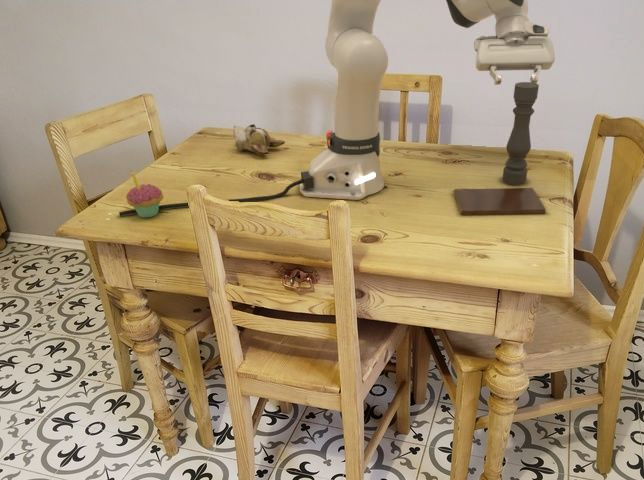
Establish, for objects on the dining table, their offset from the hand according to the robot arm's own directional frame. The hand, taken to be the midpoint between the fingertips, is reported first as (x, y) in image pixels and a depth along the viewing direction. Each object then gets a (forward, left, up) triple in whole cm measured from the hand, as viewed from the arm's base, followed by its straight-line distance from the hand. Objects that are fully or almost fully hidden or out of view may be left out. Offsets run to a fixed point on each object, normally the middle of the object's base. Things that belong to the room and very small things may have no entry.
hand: (516, 83), depth 158 cm
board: (-7, -25, -23) cm, 34 cm away
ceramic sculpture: (-73, +16, -23) cm, 78 cm away
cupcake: (-94, -27, -23) cm, 100 cm away
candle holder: (0, -11, -23) cm, 25 cm away
